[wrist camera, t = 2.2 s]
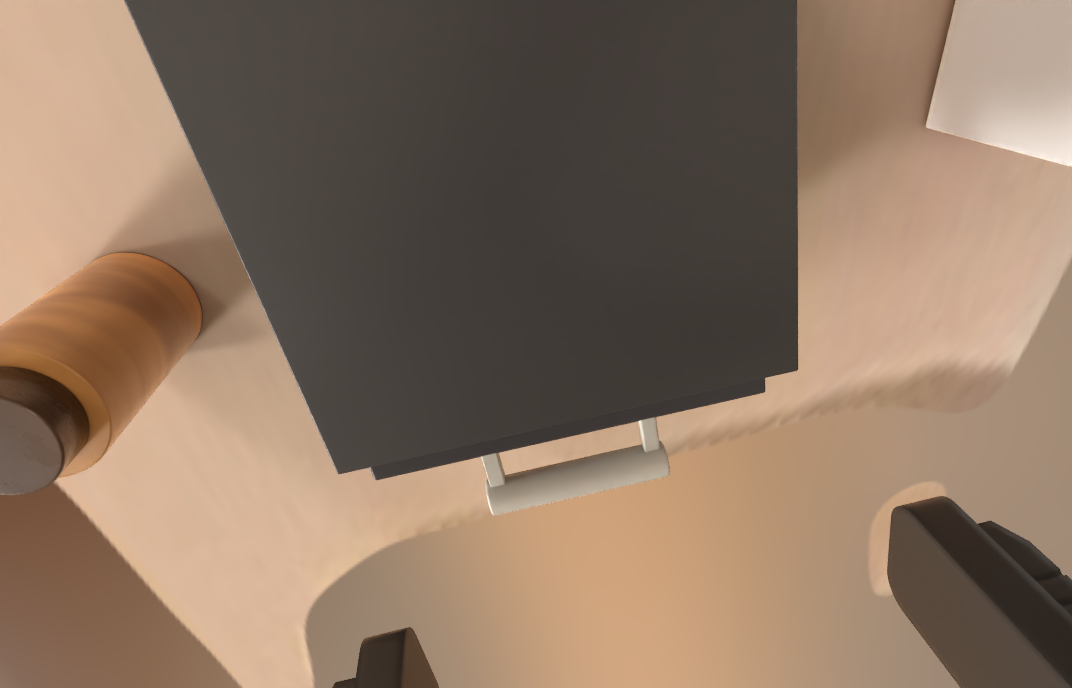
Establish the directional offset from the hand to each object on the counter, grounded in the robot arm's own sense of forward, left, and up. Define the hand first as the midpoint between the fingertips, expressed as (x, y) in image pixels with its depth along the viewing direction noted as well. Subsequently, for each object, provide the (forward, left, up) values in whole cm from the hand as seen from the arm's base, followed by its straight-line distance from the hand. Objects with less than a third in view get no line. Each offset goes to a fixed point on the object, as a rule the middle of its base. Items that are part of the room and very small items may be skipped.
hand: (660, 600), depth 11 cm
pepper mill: (+17, -1, -19) cm, 25 cm away
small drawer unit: (+1, -6, -19) cm, 19 cm away
